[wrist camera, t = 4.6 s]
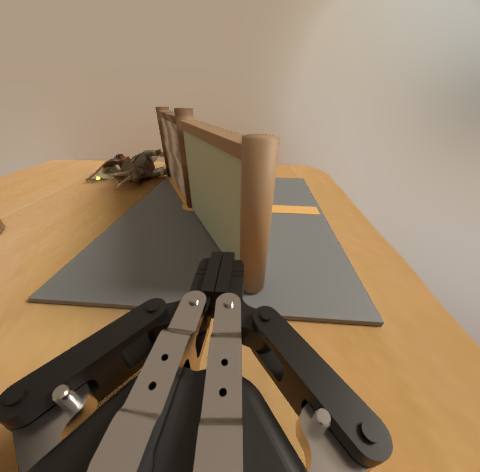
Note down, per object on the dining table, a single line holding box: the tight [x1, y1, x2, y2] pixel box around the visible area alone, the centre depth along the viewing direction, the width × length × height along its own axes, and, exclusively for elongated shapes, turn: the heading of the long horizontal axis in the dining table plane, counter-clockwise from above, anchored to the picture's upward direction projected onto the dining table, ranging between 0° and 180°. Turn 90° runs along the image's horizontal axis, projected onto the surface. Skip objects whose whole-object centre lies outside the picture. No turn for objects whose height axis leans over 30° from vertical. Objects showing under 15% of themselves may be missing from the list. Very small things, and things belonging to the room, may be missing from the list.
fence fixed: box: [156, 107, 194, 208], centre depth 39 cm, size 20×2×14 cm, turn 26°
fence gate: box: [180, 120, 279, 293], centre depth 24 cm, size 20×2×13 cm, turn 26°
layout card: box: [28, 175, 384, 326], centre depth 34 cm, size 31×37×1 cm
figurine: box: [86, 149, 168, 190], centre depth 48 cm, size 20×6×17 cm
